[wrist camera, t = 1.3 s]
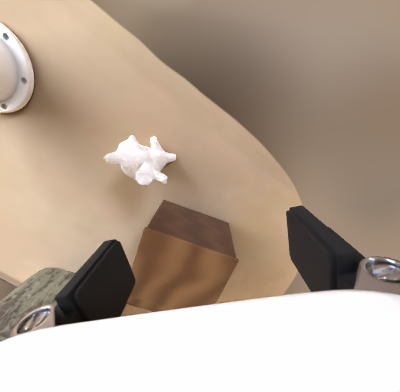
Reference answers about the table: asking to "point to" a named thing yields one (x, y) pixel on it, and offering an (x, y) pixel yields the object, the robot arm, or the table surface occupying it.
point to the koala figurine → (141, 160)
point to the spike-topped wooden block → (31, 297)
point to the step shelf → (182, 260)
